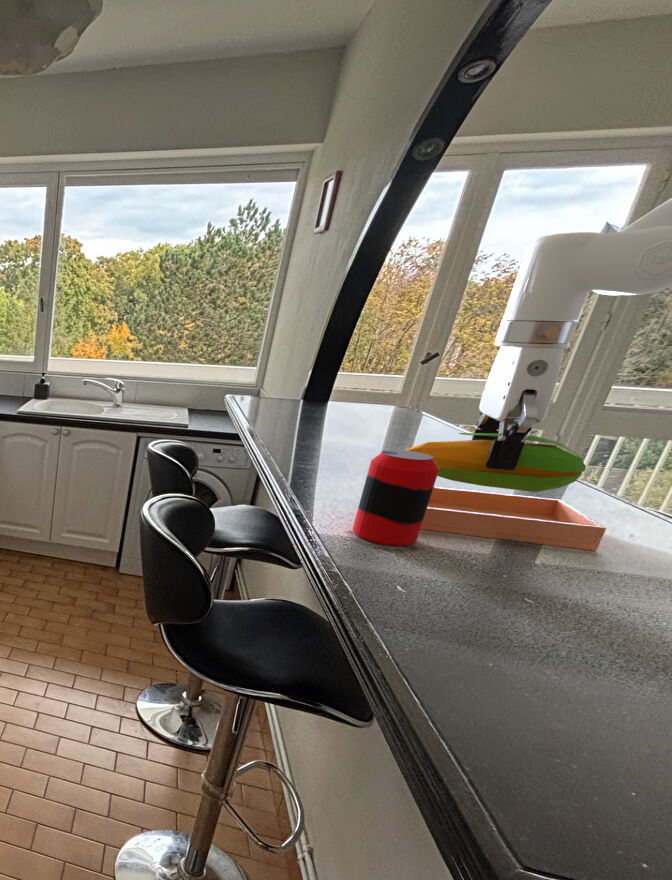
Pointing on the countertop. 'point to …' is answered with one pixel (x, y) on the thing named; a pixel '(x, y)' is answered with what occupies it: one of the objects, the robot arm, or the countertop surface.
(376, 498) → the soda can
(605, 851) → the countertop surface
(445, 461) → the corn
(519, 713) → the countertop surface
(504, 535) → the pan
